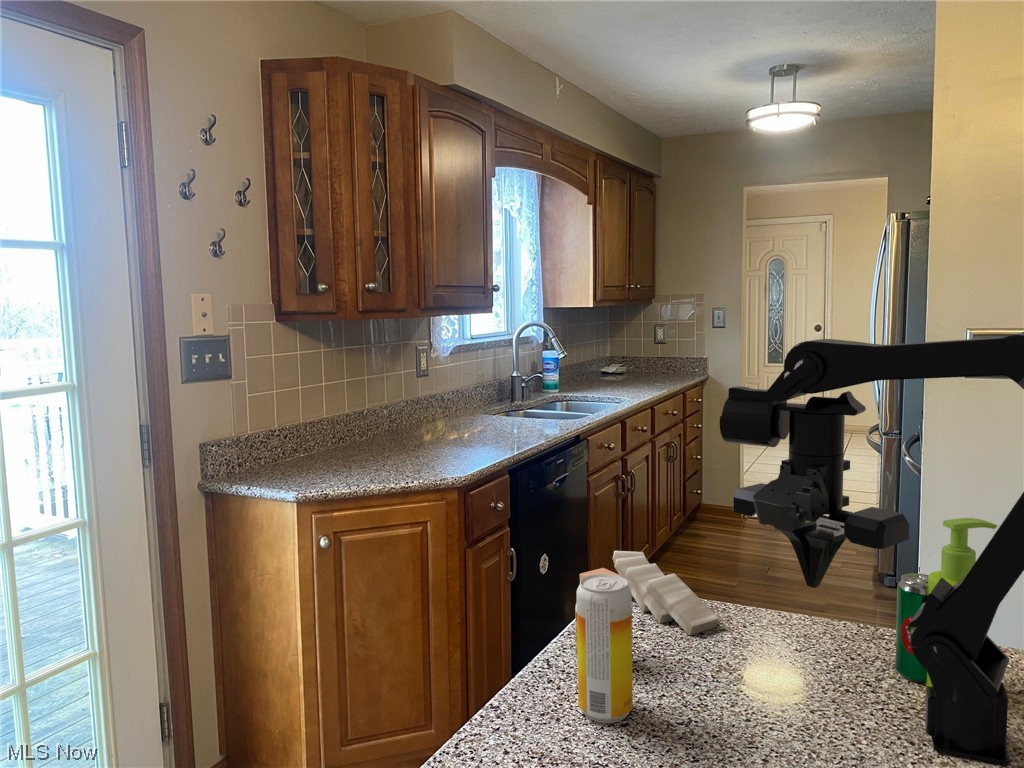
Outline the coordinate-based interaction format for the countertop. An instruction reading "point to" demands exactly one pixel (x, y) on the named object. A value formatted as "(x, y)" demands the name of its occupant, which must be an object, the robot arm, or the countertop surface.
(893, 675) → the countertop surface
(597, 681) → the beer can
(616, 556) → the domino
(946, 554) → the soap dispenser
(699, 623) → the domino
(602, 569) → the domino
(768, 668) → the countertop surface
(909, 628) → the soda can
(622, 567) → the domino
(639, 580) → the domino
